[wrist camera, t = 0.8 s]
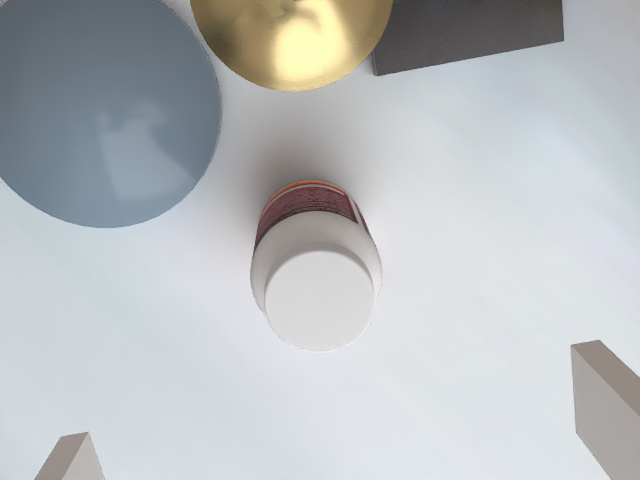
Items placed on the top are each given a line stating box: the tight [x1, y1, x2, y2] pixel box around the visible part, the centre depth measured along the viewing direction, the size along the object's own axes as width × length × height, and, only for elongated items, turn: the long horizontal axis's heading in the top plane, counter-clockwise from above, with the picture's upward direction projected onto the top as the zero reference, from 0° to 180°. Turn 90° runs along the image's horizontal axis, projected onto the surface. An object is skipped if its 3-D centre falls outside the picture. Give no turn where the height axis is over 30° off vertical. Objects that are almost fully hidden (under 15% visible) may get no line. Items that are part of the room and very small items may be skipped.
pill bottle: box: [250, 180, 382, 353], centre depth 30 cm, size 6×6×11 cm
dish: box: [0, 0, 221, 228], centre depth 32 cm, size 13×13×1 cm
